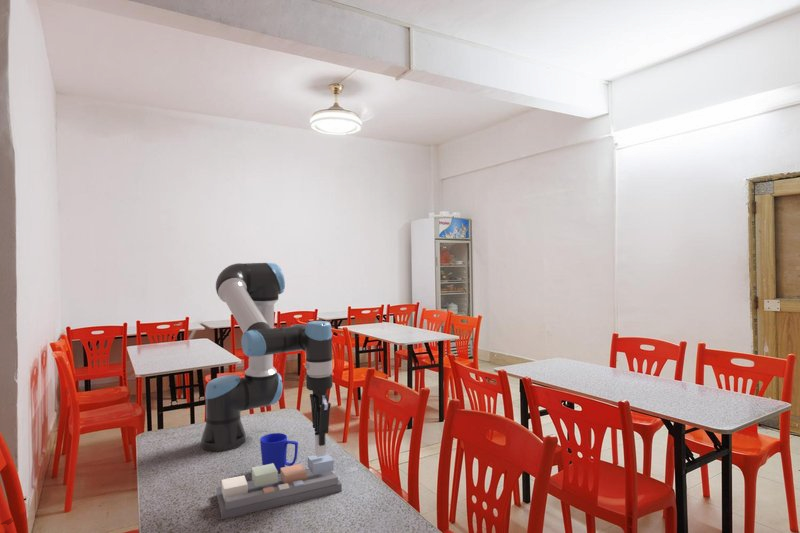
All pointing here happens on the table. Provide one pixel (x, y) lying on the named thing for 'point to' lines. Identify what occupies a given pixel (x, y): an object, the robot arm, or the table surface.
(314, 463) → the blue key
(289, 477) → the terracotta key
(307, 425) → the table surface
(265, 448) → the mug
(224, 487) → the ivory key
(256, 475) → the sage key
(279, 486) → the keypad
